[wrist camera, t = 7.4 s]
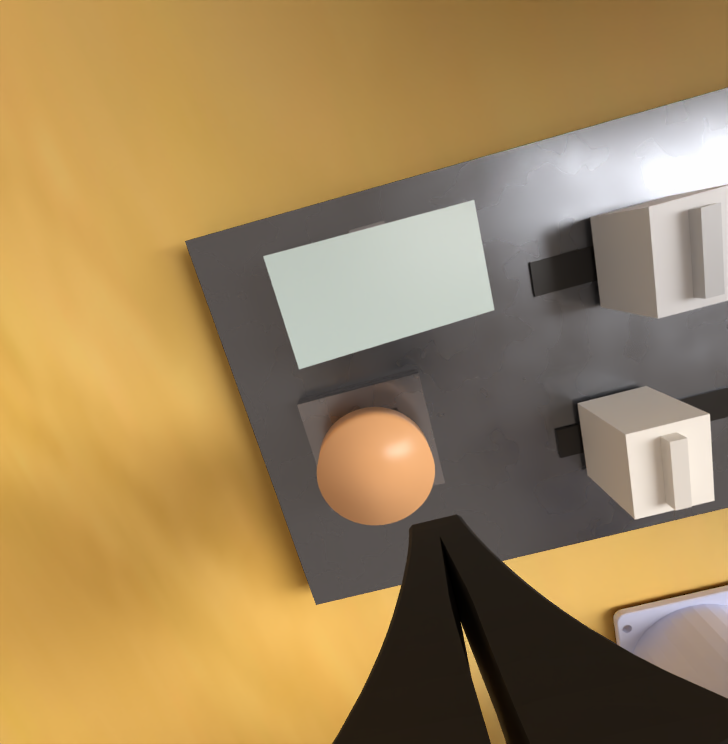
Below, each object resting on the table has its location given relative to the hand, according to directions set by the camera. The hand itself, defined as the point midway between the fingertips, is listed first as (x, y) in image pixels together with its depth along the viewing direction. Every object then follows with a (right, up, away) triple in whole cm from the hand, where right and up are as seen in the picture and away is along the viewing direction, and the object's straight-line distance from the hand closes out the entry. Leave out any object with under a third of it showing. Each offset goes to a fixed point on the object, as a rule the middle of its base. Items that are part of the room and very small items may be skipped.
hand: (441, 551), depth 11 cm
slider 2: (+9, +2, +8) cm, 12 cm away
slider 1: (+9, +9, +6) cm, 14 cm away
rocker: (-1, +8, +4) cm, 9 cm away
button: (-2, +1, +7) cm, 7 cm away
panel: (+8, +6, +8) cm, 13 cm away
